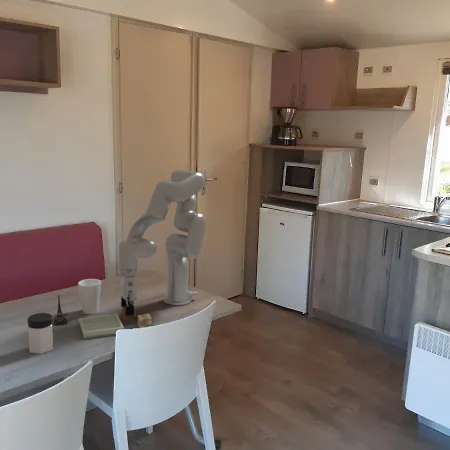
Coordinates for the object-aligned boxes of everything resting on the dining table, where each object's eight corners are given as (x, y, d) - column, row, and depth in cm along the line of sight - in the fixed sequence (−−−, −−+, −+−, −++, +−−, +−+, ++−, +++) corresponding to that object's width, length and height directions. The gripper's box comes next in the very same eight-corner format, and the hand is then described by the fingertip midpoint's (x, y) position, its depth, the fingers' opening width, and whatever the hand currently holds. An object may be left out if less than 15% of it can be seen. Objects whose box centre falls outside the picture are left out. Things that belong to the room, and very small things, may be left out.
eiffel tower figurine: (65, 314, 203) (64, 284, 200) (82, 320, 198) (81, 289, 195) (35, 326, 190) (33, 295, 188) (52, 333, 185) (51, 300, 182)
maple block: (148, 324, 195) (148, 313, 194) (151, 328, 191) (151, 318, 190) (137, 325, 194) (137, 315, 193) (140, 330, 189) (140, 319, 189)
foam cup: (95, 316, 201) (94, 287, 198) (75, 314, 202) (74, 285, 200) (105, 308, 210) (104, 280, 207) (85, 306, 211) (85, 278, 209)
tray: (117, 319, 198) (117, 313, 198) (123, 333, 186) (123, 327, 185) (79, 324, 192) (79, 318, 192) (83, 339, 180) (83, 332, 179)
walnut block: (133, 315, 204) (133, 305, 203) (135, 319, 200) (135, 309, 199) (122, 316, 202) (122, 306, 201) (124, 320, 198) (124, 310, 197)
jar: (47, 340, 178) (45, 310, 175) (59, 347, 173) (57, 316, 170) (23, 348, 171) (21, 317, 168) (35, 356, 166) (33, 324, 163)
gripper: (141, 276, 190) (141, 317, 193) (132, 264, 205) (131, 302, 209) (122, 278, 187) (122, 319, 190) (114, 265, 202) (114, 304, 206)
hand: (127, 310), depth 199 cm, fingers open, 9 cm apart
